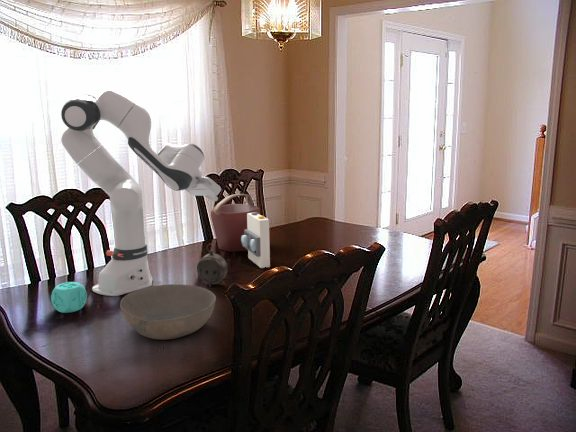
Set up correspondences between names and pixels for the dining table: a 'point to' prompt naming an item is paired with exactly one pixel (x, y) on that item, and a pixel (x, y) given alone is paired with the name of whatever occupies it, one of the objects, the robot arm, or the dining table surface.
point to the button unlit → (245, 240)
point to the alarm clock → (212, 268)
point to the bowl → (168, 310)
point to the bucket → (231, 222)
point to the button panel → (258, 239)
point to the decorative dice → (69, 297)
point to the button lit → (253, 244)
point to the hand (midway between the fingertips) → (215, 200)
